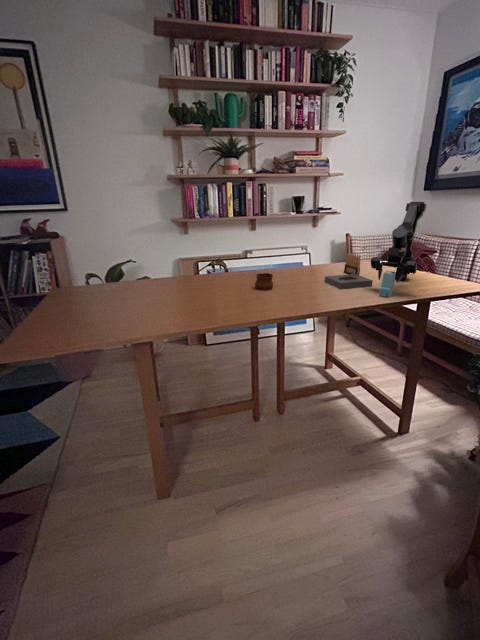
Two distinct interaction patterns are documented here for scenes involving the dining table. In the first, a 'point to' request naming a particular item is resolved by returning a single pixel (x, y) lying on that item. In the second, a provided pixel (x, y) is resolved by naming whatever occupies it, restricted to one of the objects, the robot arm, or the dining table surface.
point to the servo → (387, 283)
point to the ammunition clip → (352, 264)
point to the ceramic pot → (264, 281)
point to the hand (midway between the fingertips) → (387, 280)
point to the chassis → (348, 281)
